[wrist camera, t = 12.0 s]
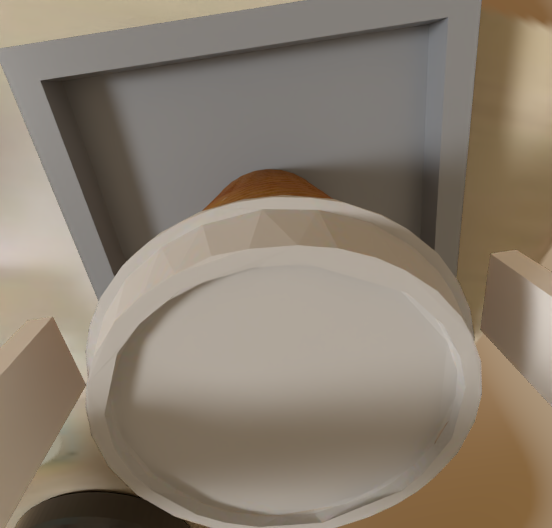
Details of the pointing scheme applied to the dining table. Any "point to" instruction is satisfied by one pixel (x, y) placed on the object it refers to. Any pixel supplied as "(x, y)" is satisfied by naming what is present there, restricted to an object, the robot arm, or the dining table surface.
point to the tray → (254, 116)
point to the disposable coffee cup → (281, 362)
